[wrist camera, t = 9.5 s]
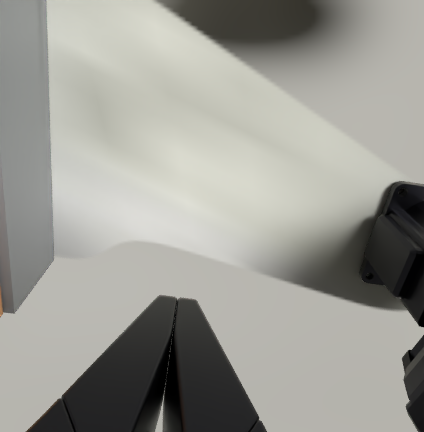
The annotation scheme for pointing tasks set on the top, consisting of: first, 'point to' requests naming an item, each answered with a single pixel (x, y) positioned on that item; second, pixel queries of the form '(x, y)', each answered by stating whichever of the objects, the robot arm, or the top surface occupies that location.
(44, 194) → the cable duct
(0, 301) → the duct cover
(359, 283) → the top surface
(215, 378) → the robot arm
